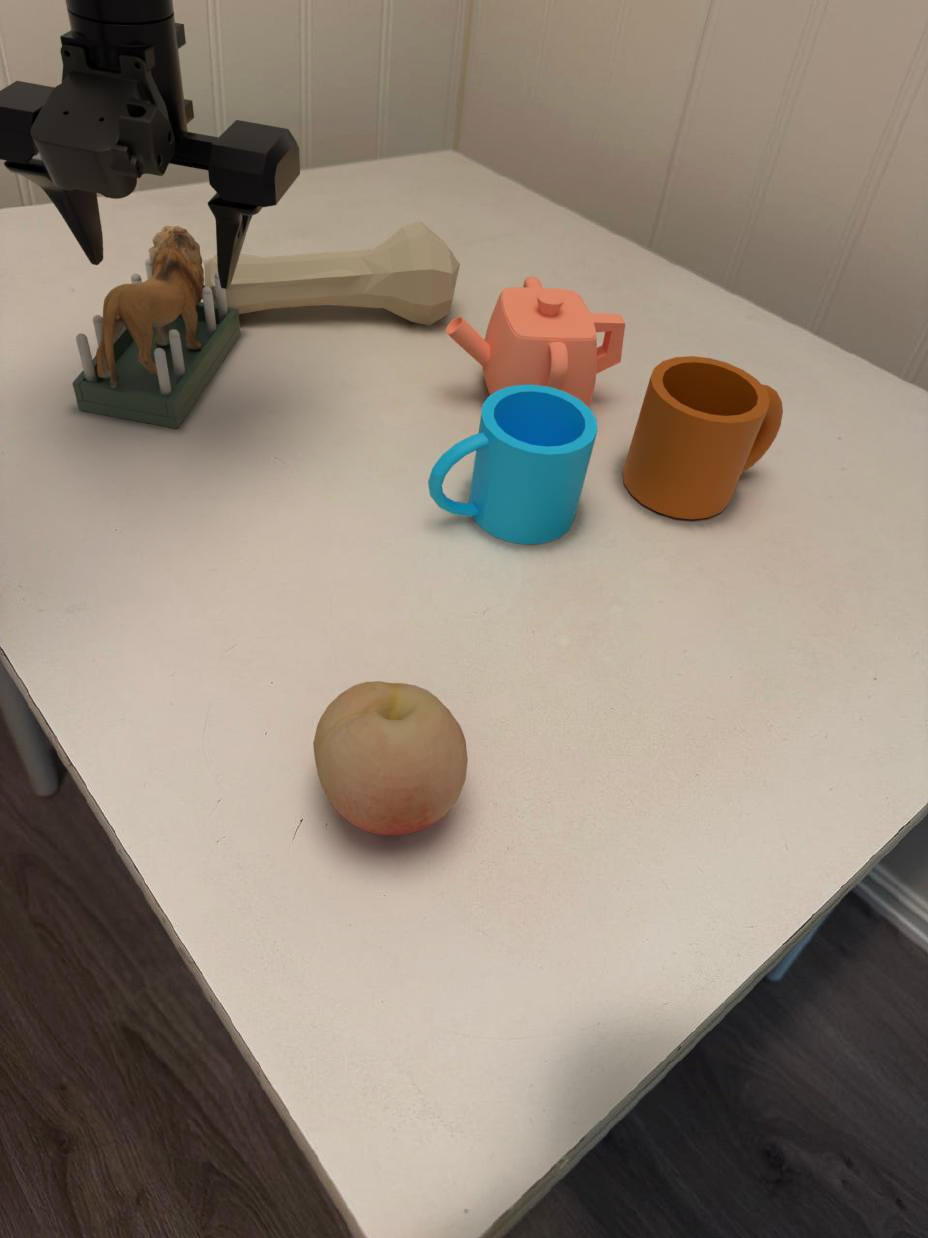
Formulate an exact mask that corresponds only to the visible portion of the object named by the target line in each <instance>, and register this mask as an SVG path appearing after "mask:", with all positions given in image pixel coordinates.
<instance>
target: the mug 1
mask: <svg viewBox="0 0 928 1238" xmlns="http://www.w3.org/2000/svg"><path fill="white" fill-rule="evenodd" d="M597 435H598V419H597V418H596V416H595V414H594V413H593V410H592V409H591V408H590V406H589V407H588V406H586V405H585V404H584V403H583V402H582V401H581V400H579V399H578V398H576V397H574V396H572V395H570V394H568V393H567V392H564V391H561V390H558V389H554V388H551V387H547V386H539V385H514V386H511V387H507V388H503V389H500V390H498V391H496V392H495V393H493V394H492V395H490V394H489V396H487V398H486V400H485V401H484V402H483V403H482V405H481V412H480V420H479V427H478V432H477V433H475V434H473V435H470V436H468V437H466V438H464V439H462V440H460V441H458V442H456V443H455V444H454V445H452V446H451V447H450V448H448V449H447V450H445V452H444V453H442V454H441V456H440V457H439V458H438V460H436V462H435V464H434V465H433V466H432V468H431V471H430V474H429V478H428V481H427V484H428V491H429V496H430V498H431V499H432V500H433V501H434V503H435V504H436V505H437V507H439V508H440V509H442V510H444V511H446V512H447V513H450V514H451V515H457V516H464V517H471V518H472V519H473V520H474V522H476V524H478V526H480V528H481V529H482V530H484V531H486V532H487V533H488V534H490V535H491V536H493V537H495V538H498V539H501V540H503V541H506V542H509V543H512V544H513V543H514V544H520V545H527V546H529V545H530V546H531V545H540V544H547V543H549V542H552V541H555V540H557V539H560V538H561V537H563V536H564V535H565V534H566V533H567V532H568V531H570V529H571V528H572V525H573V523H574V521H575V518H576V514H577V511H578V506H579V503H580V500H581V499H580V498H581V495H582V492H583V489H584V488H583V487H584V484H585V480H586V476H587V473H588V468H589V465H590V461H591V457H592V453H593V449H594V446H595V443H596V438H597ZM473 452H474V453H475V456H474V461H473V469H472V476H471V483H470V490H469V498H468V502H463V501H457V500H453V499H452V498H449V497H447V496H446V494H445V493H444V489H443V485H444V481H445V478H446V476H447V474H448V473H449V472H450V470H451V469H453V467H454V465H456V464H457V463H458V462H459V461H461V460H462V459H463V458H464V457H466V456H468V455H470V454H472V453H473Z"/></svg>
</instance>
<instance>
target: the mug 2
mask: <svg viewBox="0 0 928 1238" xmlns="http://www.w3.org/2000/svg"><path fill="white" fill-rule="evenodd" d="M783 408H784V407H783V401H782V399H781V397H780V395H779V393H778V391H776V389H774V388H773V387H772V386H769V385H768V384H762V383H761V382H760V380H759V379H757V378H756V377H755V376H753V375H751V374H750V373H749V372H747V371H746V370H744V369H742V368H740V367H738V366H735V365H733V364H732V363H729V362H726V361H722V360H718V359H714V358H711V357H703V356H696V355H695V356H694V355H688V356H686V355H685V356H675V357H671V358H669V359H665V360H662V361H661V362H660V363H658V364H657V365H656V366H655V367H653V369H652V372H651V374H650V377H649V381H648V384H647V387H646V391H645V394H644V398H643V401H642V405H641V408H640V412H639V414H638V418H637V422H636V425H635V429H634V432H633V435H632V438H631V442H630V446H629V449H628V452H627V455H626V460H625V462H624V466H623V470H622V472H621V473H622V479H623V484H624V486H625V487H626V489H627V490H628V493H630V495H631V496H632V497H633V498H635V499H636V500H637V501H638V502H639V503H640V504H641V505H643V506H645V507H647V508H649V509H650V510H652V511H655V512H657V513H659V514H662V515H665V516H668V517H672V518H676V519H685V520H699V519H708V518H711V517H713V516H716V515H718V514H720V513H722V512H723V511H724V510H725V509H726V507H728V505H729V504H730V501H731V499H732V497H733V494H734V493H735V490H736V487H737V485H738V482H739V480H740V477H741V475H742V474H743V473H745V472H746V471H748V470H749V469H750V468H752V467H753V466H754V465H755V464H756V463H758V462H759V461H760V460H761V459H762V458H763V457H764V455H766V453H767V452H768V450H769V449H770V448H771V446H772V445H773V443H774V441H775V440H776V438H777V436H778V434H779V431H780V429H781V426H782V419H783V413H784V409H783Z"/></svg>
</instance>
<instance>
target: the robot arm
mask: <svg viewBox="0 0 928 1238" xmlns="http://www.w3.org/2000/svg"><path fill="white" fill-rule="evenodd" d="M65 5H66V10H67V17H68V22H69V26H70V30H69V31H67V32H65V33H63V34H62V35H60V37H59V38H60V43H61V47H60V50H59V51H60V56H61V61H62V71H61V72H62V73H61V83H60V84H58V85H56V86H48V85H43V84H38V83H32V82H27V81H21V80H16V81H14V82H12V83H10V84H9V85H7V86H5V87H4V88H2V89H0V160H1V161H4V162H3V165H4V167H5V169H7V170H8V172H10V173H12V174H17V175H20V176H21V177H24V178H25V179H27V180H29V181H30V182H32V183H33V184H35V185H36V186H38V187H40V188H41V189H42V190H43V191H44V193H45V194H46V196H47V197H48V198H49V199H50V201H51V203H52V204H53V205H54V207H55V208H56V210H57V211H58V213H59V214H60V215H61V217H62V219H63V220H64V222H65V223H66V225H67V227H68V229H69V230H70V232H71V233H72V235H73V236H74V238H75V240H76V241H77V243H78V245H79V246H80V248H81V249H82V251H83V253H84V255H85V256H86V258H87V260H88V261H89V263H90V264H91V265H93V266H99V265H100V264H101V263H102V262H103V260H104V239H103V238H104V235H103V228H102V222H101V221H102V220H101V216H100V207H99V201H98V194H100V195H101V196H103V197H104V198H107V199H113V200H118V199H124V198H126V197H128V196H130V195H131V194H132V193H133V192H134V191H135V189H136V187H137V184H138V179H141V178H142V176H143V175H145V174H146V175H152V176H158V177H163V176H164V175H165V173H166V171H167V169H168V167H169V165H170V164H171V165H174V166H175V165H176V166H181V167H186V168H192V169H196V170H197V169H198V170H203V171H207V172H208V173H207V175H208V183H209V186H210V187H211V188H212V189H213V190H214V191H215V194H214V195H213V196H212V197H211V198H210V199H209V200H208V202H207V206H208V208H209V210H210V211H211V213H212V215H213V217H214V220H215V240H216V241H215V242H216V243H215V244H216V255H217V268H218V275H219V280H220V286H221V288H223V289H227V288H228V287H229V286H230V284H231V282H232V279H233V276H234V272H235V269H236V266H237V263H238V259H239V256H240V254H242V249H243V247H244V242H245V239H246V236H247V233H248V231H249V226H250V224H251V220H252V218H253V216H255V215H257V214H259V213H260V212H261V210H262V209H263V208H268V207H273V206H277V205H278V203H279V202H280V201H281V200H282V198H283V197H284V196H285V194H286V193H287V192H288V190H289V189H290V188H291V187H292V185H293V184H294V183H295V181H296V180H297V179H298V177H300V175H301V159H300V158H301V157H300V146H299V144H298V141H297V140H296V138H295V137H294V135H293V134H292V132H291V131H290V129H289V128H285V127H280V126H275V125H269V124H268V125H267V124H264V123H263V124H262V123H258V122H257V123H256V122H252V121H251V122H250V121H246V120H240V119H235V120H234V122H232V123H231V124H230V125H229V126H228V127H227V128H226V129H225V131H223V132H222V133H221V134H220V136H213V135H207V134H202V133H196V132H192V131H189V130H188V124H190V123H191V122H192V121H193V119H195V113H194V112H195V111H194V103H193V102H194V101H193V100H192V99H187V98H185V97H184V96H185V95H184V87H183V80H182V71H181V70H182V69H181V61H180V53H179V49H181V48H182V47H184V46H185V45H186V44H187V41H186V31H185V24H184V23H179V22H176V20H175V19H176V17H175V12H174V2H173V0H65Z"/></svg>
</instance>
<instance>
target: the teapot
mask: <svg viewBox="0 0 928 1238" xmlns="http://www.w3.org/2000/svg"><path fill="white" fill-rule="evenodd" d="M625 330H626V322H625V320H624V318H623V316H622V314H621V313H604V312H603V313H601V312H600V313H597V312H591V311H590V309H589V307H588V306H587V304H586V302H585V300H584V299H583V297H582V296H581V295H580V294H579V293H578V292H577V291H575V290H574V289H568V288H567V289H566V288H554V287H553V288H551V287H543V285H542V281H541V280H540V279H539V278H538V277H536V276H531V275H530V276H528V277H526V278H525V279H524V282H523V285H522V287H519V286H516V287H514V286H513V287H512V286H510V287H509V286H507V287H504V288H502V290H501V291H500V294H499V296H498V298H497V300H496V302H495V305H494V308H493V310H492V313H491V316H490V318H489V321H488V324H487V329H486V330H485V331H486V332H485V336H484V338H483V336H481V335H480V334H479V333H478V332H477V331H476V330H475V329H474V328H473V326H471V325H470V324H469V322H467V320H465V319H464V317H462V316H461V315H459V316H456V317H455V318H453V319H452V320H451V321H450V322H449V323H448V325H447V326H446V328H445V334H446V335H447V336H449V338H450V339H452V340H453V341H454V342H455V343H456V344H457V345H458V346H459V347H461V348H462V349H463V350H464V351H465V352H466V353H467V354H468V355H469V356H470V357H471V358H472V359H474V360H475V362H477V363H478V364H479V365H480V366H481V367H482V373H483V378H484V382H485V386H486V388H487V392H488V394H489V396H490V395H492V394H493V393H495V392H496V391H498V390H500V389H503V388H507V387H511V386H514V385H539V386H547V387H551V388H554V389H558V390H561V391H564V392H567V393H568V394H570V395H572V396H574V397H576V398H578V399H579V400H581V401H582V402H583V403H584V404H585V405H586V406H588V407H589V408H590V406H591V404H592V401H593V396H594V393H595V387H596V379H597V374H599V373H602V372H603V371H606V370H607V369H609V368H612V367H613V366H616V365H618V364H620V363H621V361H622V354H623V346H624V338H625ZM597 333H604V334H603V335H604V336H603V340H602V343H601V344H602V345H600V346H598V347H597V345H598V342H597V340H598V339H597Z"/></svg>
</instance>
